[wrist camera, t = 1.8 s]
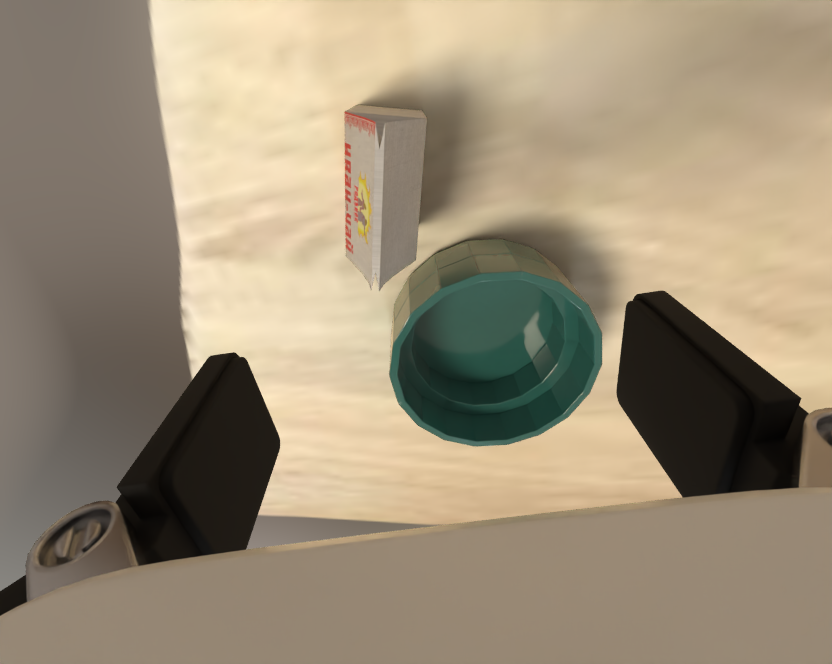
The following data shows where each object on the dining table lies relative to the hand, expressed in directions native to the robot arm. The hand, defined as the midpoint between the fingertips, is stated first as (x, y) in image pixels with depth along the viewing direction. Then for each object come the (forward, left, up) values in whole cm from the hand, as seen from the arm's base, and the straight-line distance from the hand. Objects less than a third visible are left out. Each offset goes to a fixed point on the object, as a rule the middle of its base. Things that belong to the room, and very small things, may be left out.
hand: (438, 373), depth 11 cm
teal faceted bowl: (+10, +3, -19) cm, 21 cm away
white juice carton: (-2, -2, -19) cm, 19 cm away
